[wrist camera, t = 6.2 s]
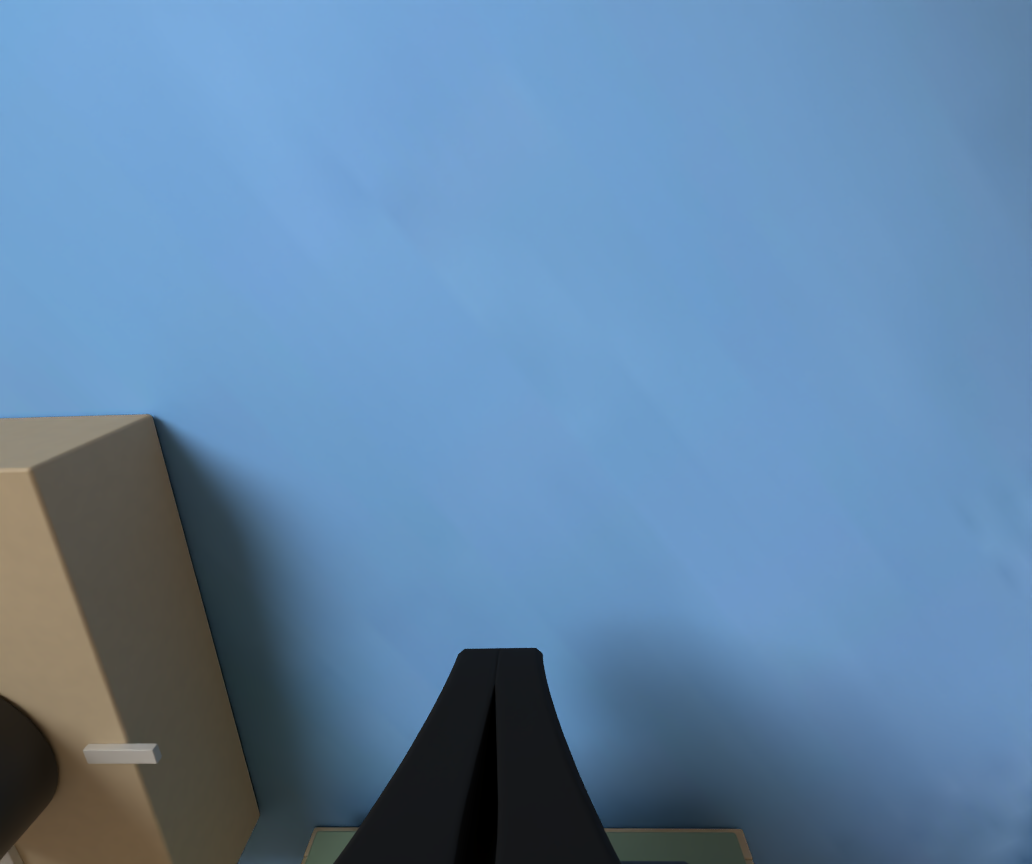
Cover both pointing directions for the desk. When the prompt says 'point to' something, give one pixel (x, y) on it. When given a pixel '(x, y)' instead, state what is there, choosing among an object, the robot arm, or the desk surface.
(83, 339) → the desk surface
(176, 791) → the block
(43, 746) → the timer dial
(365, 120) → the desk surface
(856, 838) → the desk surface
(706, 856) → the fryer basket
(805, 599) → the desk surface
